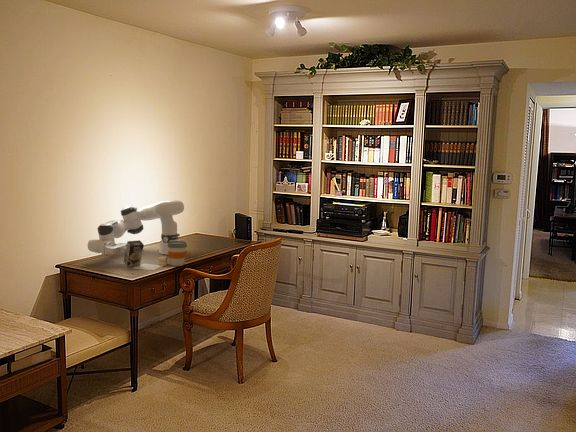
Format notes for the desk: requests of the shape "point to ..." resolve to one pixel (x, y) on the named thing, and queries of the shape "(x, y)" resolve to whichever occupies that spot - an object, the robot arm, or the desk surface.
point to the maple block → (162, 260)
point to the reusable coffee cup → (177, 252)
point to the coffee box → (133, 253)
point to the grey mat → (148, 267)
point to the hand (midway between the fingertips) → (127, 249)
